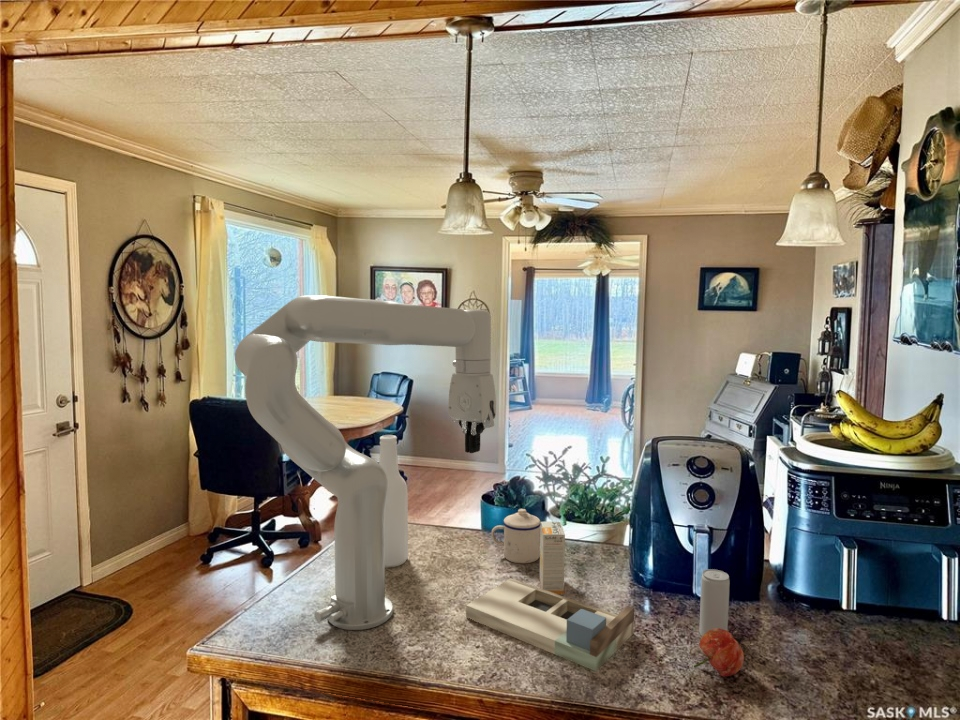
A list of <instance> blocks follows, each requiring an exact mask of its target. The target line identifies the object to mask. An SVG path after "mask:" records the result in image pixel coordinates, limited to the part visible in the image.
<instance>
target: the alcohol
mask: <svg viewBox="0 0 960 720" xmlns="http://www.w3.org/2000/svg"><path fill="white" fill-rule="evenodd" d="M397 439H398V437H397V436H396V435H393V434H385V435H384V434H383V435H382V436H380V437H379V446H380V447H379V458H378V459H379V460H378V463H379V464H380V465H381V466H382V468H383V469H384V471H385V473H386V475H387V479H388V493H387V499H386V504H385V514H384V553H385V568H395V567H398V566H401V565H403V564H404V563H406V561H407V559H408V557H409V544H408V543H409V536H408V535H409V534H408V533H409V529H408V528H409V527H408V526H409V525H408V523H409V521H408V520H409V519H408V518H409V517H408V516H409V515H408V514H409V511H408V509H409V507H408V500H409V497H408V496H409V495H408V494H409V493H408V490H409V489H408V485H407V482H406V480H405V479H404V478H403V476H402V475H401V474H400V471H399V460H398V448H397V444H398V441H397Z"/></svg>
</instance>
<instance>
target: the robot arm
mask: <svg viewBox="0 0 960 720" xmlns="http://www.w3.org/2000/svg"><path fill="white" fill-rule="evenodd" d="M491 334H492V316H491V313H490V312H489V311H488V310H485V309H461V308H451V307H438V306H430V305H429V306H428V305H420V304H419V305H418V304H408V303H402V302H396V301H390V300H381V299H368V298H356V297H344V296H335V295H333V296H332V295H324V294H323V295H320V294H318V295H317V294H314V295H311V294H310V295H300V296H297V297H295V298H293V299H291V300H290V301H289V302H287V303H286V304H285V305H283V306H282V307H281V308H280V309H278V310H277V311H276V312H275V313H273V314H272V315H270V317H268V318H266V320H265V321H263V322H262V323H261V324H260V325H258V326H257V327H255V328H254V329H253V330H252V331H251V332H249V333H248V334H247V335H246V336H244V338H243V339H241V340H240V341H239V343H238V345H237V347H236V349H235V352H234V362H235V364H236V367H237V369H238V371H240V373H241V374H242V375H244V376H245V377H246V378H245V385H244V387H245V388H244V392H245V400H246V405H247V407H248V410H249V413H250V414H251V416H252V418H253V419H254V420H255V421H256V423H257V424H258V425H259V426H261V428H262V429H263V430H265V431H266V432H267V433H268V434H269V435H270V436H271V437H272V438H273V439H274V440H275V442H278V444H280V447H281V449H282V451H283V452H284V454H285V455H286V456H287V458H289V460H290V461H292V462H294V464H295V465H297V466H298V467H300V468H301V469H302V470H303V471H304V472H305V473H306V474H308V475H309V476H310V477H311V478H313V480H315V481H316V482H317V483H318V484H320V485H321V486H322V487H323V488H324V489H326V490H327V491H328V492H330V493H331V494H333V495H334V496H335V497H336V498H337V506H336V507H337V508H336V513H335V518H334V526H333V527H334V528H333V529H334V533H333V535H334V536H333V538H334V581H335V582H334V583H335V585H334V587H335V591H334V592H335V595H333V596H332V595H331V597H330V603H328V605H327V606H326V607H324V608H321V609H319V610H317V611H315V612H314V619H315V620H316V622H317V623H321V622H322V621H324V620H326V619H327V620H328V622H329V623H330V624H331V625H333V626H334V627H337V628H338V629H342V630H347V631H363V630H368V629H372V628H375V627H378V626H380V625H382V624H384V623H386V622H387V621H388V620H389V619H390V618H391V617H392V616H393V613H394V605H393V603H392V601H391V600H390V599H389V598H387V597H386V587H385V586H386V584H385V583H386V579H385V578H386V577H385V575H386V573H385V572H386V570H385V568H386V567H385V553H384V514H385V504H386V499H387V493H388V479H387V475H386V473H385V471H384V469H383V468H382V466H381V465H380V464H379V461H376V460H375V459H373V458H372V457H371V456H370V457H369V456H368V455H366V454H364V453H360V451H358V450H356V449H354V448H353V447H352V446H350V445H349V444H348V443H347V442H346V439H345V438H344V436H343V434H342V432H341V431H340V429H339V428H338V427H336V425H334V423H332V422H330V421H329V420H328V419H326V418H325V416H323V415H322V414H321V413H319V412H318V411H317V410H316V409H315V408H314V407H313V406H312V405H311V404H310V403H309V402H308V401H307V400H306V399H305V398H304V397H303V396H302V395H301V394H300V392H299V391H298V389H297V385H296V374H297V370H298V355H297V353H298V352H299V351H300V350H302V348H304V347H305V346H306V345H307V344H308V343H309V342H310V341H312V342H318V343H319V342H320V343H334V344H339V343H340V344H359V345H360V344H362V345H378V346H379V345H381V346H382V345H383V346H402V345H403V346H404V345H405V346H407V345H408V346H409V345H410V346H411V345H412V346H428V347H429V346H433V347H450V348H455V360H453V362H452V366H453V367H455V372H453V373H452V376H451V378H450V383H449V391H448V392H449V393H448V401H447V402H448V405H447V406H448V408H447V412H448V413H447V414H448V416H449V417H450V418H451V420H452V422H453V423H454V424H457V425H459V426H460V428H461V430H462V433H463V434H464V451H465V453H467V454H468V453H469V454H474V453H477V452H480V450H481V434H483V432H484V431H485V429H490V428H493V427H494V426H495V421H494V419H496V415H497V399H496V387H495V381H494V376H493V374H491V371H492V369H491V362H492V361H491V357H492V356H491V350H492V349H491V346H492V345H491V344H492V343H491V342H492V341H491V339H492V337H491V336H492V335H491Z"/></svg>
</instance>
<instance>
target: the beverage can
mask: <svg viewBox="0 0 960 720" xmlns="http://www.w3.org/2000/svg"><path fill="white" fill-rule="evenodd" d="M701 573H702V575H701V580H700V581H701V582H700V603H699V606H700V607H699V608H700V609H699V634H700V636H701V637H702V636H703V635H704V634H705V633H706V632H707V631H709V630H712V629H715V628H720V629H724V630H726V631H728V627H729V626H728V624H729V607H730V605H729V603H730V584H731V583H730V581H731V580H730V576H729V574H728V573H727V572H724V571H723V570H718V569H715V568H714V569H713V568H712V569H711V568H710V569H709V568H708V569H704V570H703V571H702V572H701Z"/></svg>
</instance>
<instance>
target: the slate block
mask: <svg viewBox="0 0 960 720" xmlns="http://www.w3.org/2000/svg"><path fill="white" fill-rule="evenodd" d="M604 627H606V617H603V616H600V615H597V614H595V613H592V612H589V611H586V610H583V609H580V610H579V611H577V612H576V613H575V614H574V615H572V616H571V617H570V618H568V619H567V635H566V642H568V643H571V644H573V645H576V646H578V647H581V648H583V649H585V650H588V651H590V640H591V639H592V638H593V637H595V636H596V635H597V634H598V633H599V632H600V631H601V630H602V629H603V628H604Z"/></svg>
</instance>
